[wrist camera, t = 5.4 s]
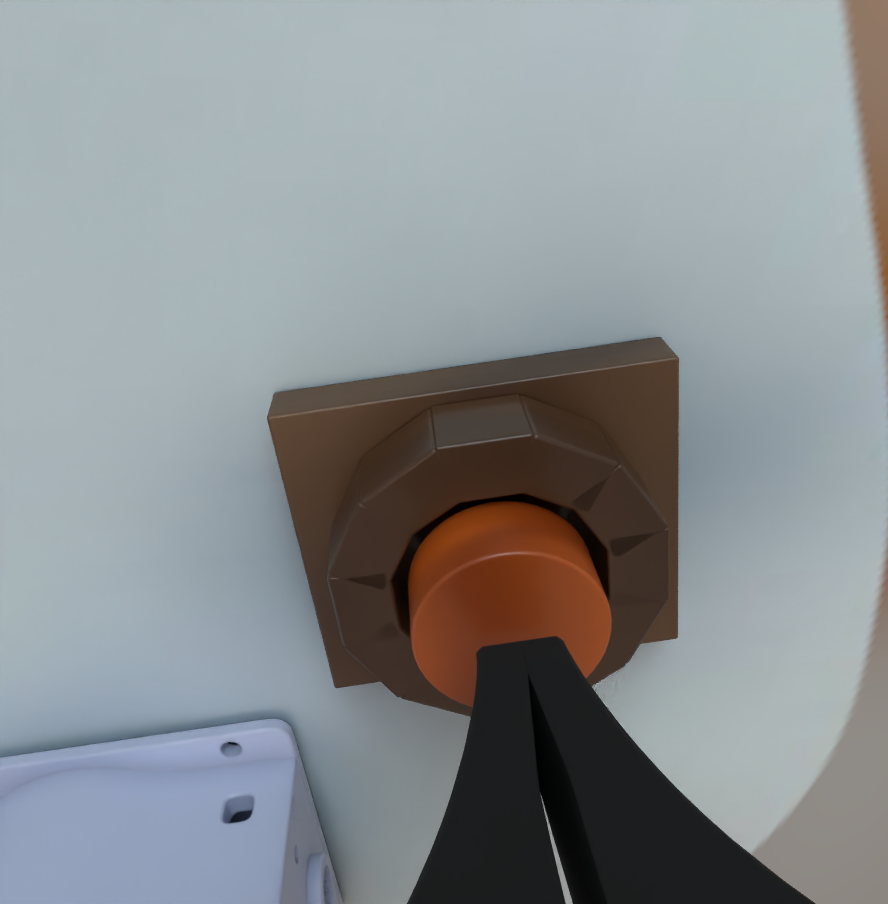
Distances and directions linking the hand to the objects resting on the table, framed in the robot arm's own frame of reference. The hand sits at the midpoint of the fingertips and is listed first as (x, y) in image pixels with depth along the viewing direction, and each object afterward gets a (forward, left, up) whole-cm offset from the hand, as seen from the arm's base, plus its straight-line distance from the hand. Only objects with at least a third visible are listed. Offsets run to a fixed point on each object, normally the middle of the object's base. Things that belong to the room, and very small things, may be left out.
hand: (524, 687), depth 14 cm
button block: (0, 0, -6) cm, 6 cm away
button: (0, 0, -3) cm, 3 cm away
